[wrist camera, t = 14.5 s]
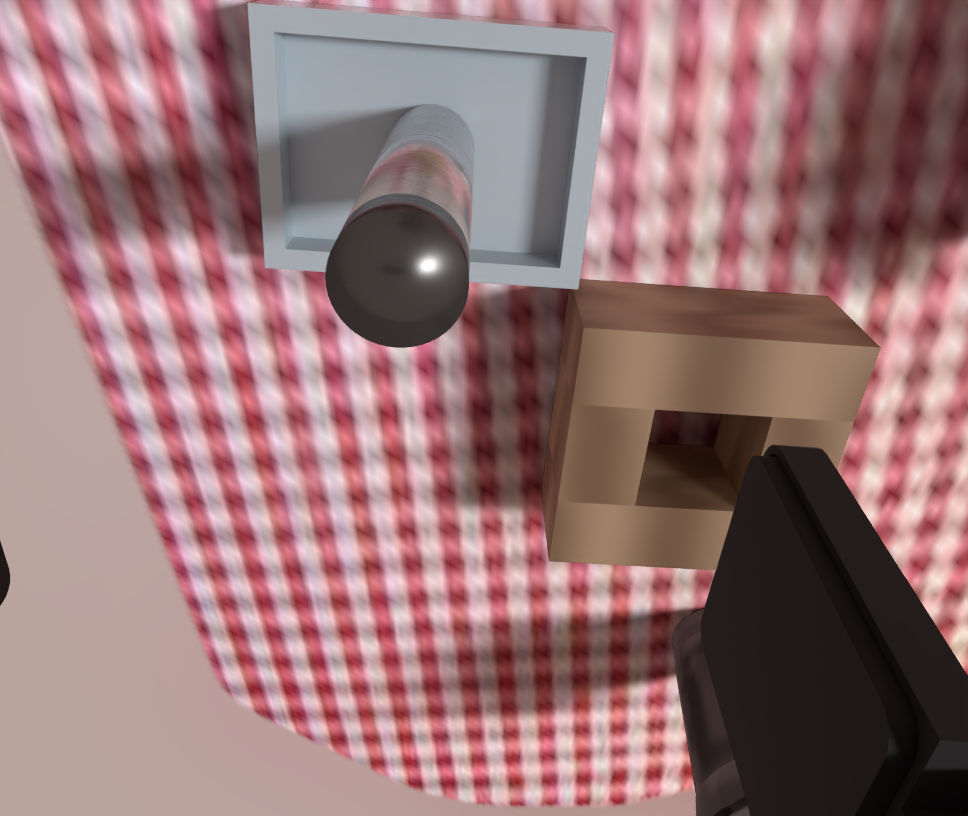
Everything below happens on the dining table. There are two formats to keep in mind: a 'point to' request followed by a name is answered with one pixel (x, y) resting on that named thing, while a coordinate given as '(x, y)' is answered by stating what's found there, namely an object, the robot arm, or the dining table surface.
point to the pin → (408, 234)
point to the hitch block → (691, 388)
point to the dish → (417, 81)
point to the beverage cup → (705, 727)
